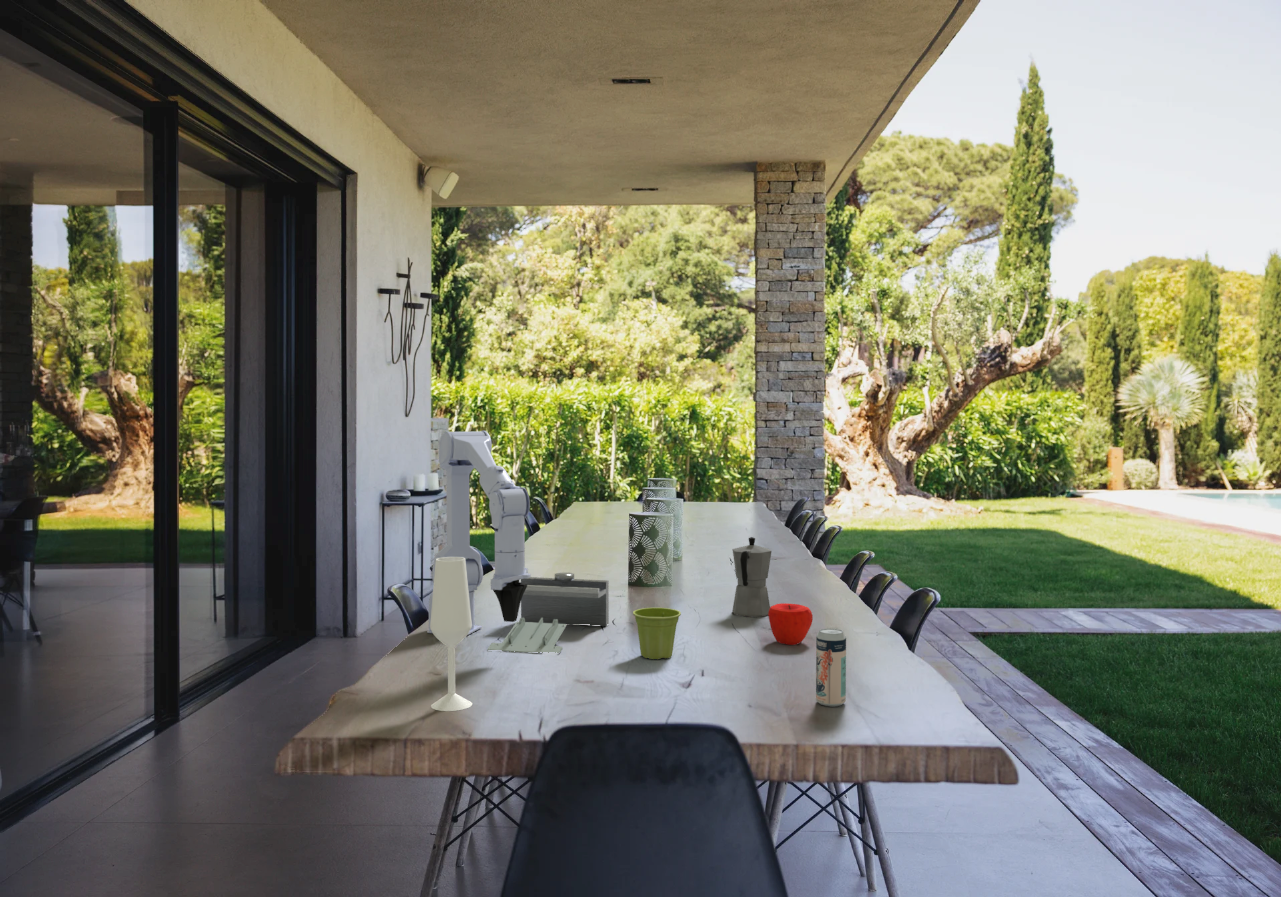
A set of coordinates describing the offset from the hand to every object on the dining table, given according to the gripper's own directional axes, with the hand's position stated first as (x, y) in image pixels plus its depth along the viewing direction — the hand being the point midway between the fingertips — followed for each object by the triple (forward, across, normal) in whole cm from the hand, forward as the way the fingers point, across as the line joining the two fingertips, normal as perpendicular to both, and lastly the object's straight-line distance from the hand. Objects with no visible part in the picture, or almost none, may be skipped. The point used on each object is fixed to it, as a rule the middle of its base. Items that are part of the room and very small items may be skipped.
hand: (510, 621), depth 197 cm
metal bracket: (+8, +12, 0) cm, 14 cm away
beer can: (+8, -15, -62) cm, 64 cm away
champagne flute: (+8, -31, -2) cm, 32 cm away
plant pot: (+8, +9, -27) cm, 29 cm away
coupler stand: (+7, +30, 0) cm, 31 cm away
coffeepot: (+8, +54, -39) cm, 67 cm away
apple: (+8, +27, -51) cm, 58 cm away
